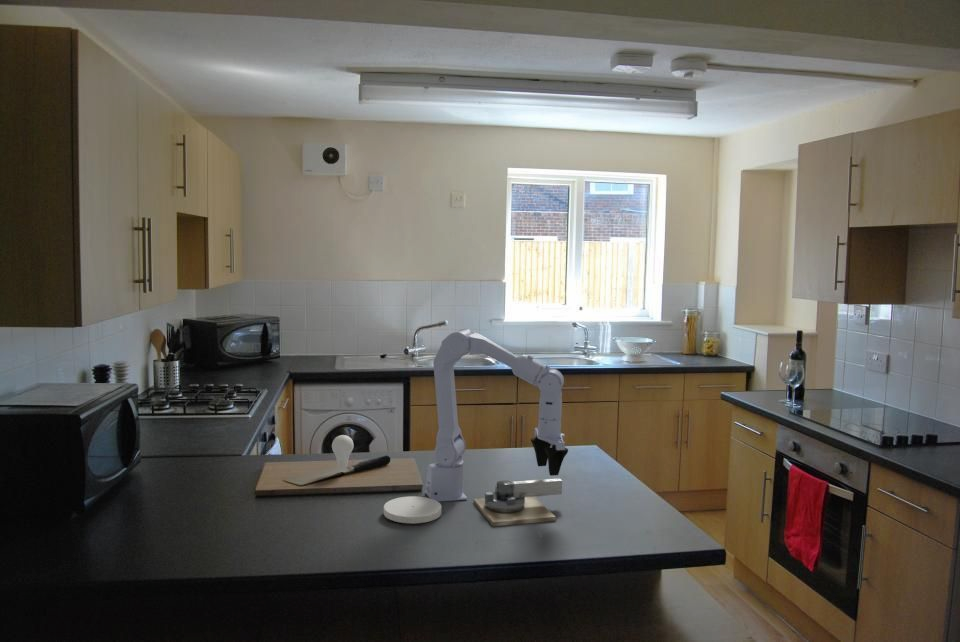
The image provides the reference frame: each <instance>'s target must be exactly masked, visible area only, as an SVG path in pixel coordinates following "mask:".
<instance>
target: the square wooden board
mask: <svg viewBox="0 0 960 642" xmlns="http://www.w3.org/2000/svg"><path fill="white" fill-rule="evenodd" d="M473 504H474V505H475V507H476V508H477V509H478V510H479V511H480V513H481V514H482V515H483V516H484V517H485V519H486V520H487V521H488V522H489V523H490V524H491V525H492V527H501V526H511V525H522V524H534V523H535V524H536V523H545V522H554V521H556V518H557V516H556V515H555V514H554V513H552V512H551V511H550V510H549V509H548V508H547V507H546V505H544V504H543V503H542V502H540V501H539V499H537V498H536V496H534V497H525V508H524V509H523V510H522V511H520V512H516V513H498V512H493V511H490V510H488V509H487V508H486V507H485V497H481V498H480V497H479V498H473Z"/></svg>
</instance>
